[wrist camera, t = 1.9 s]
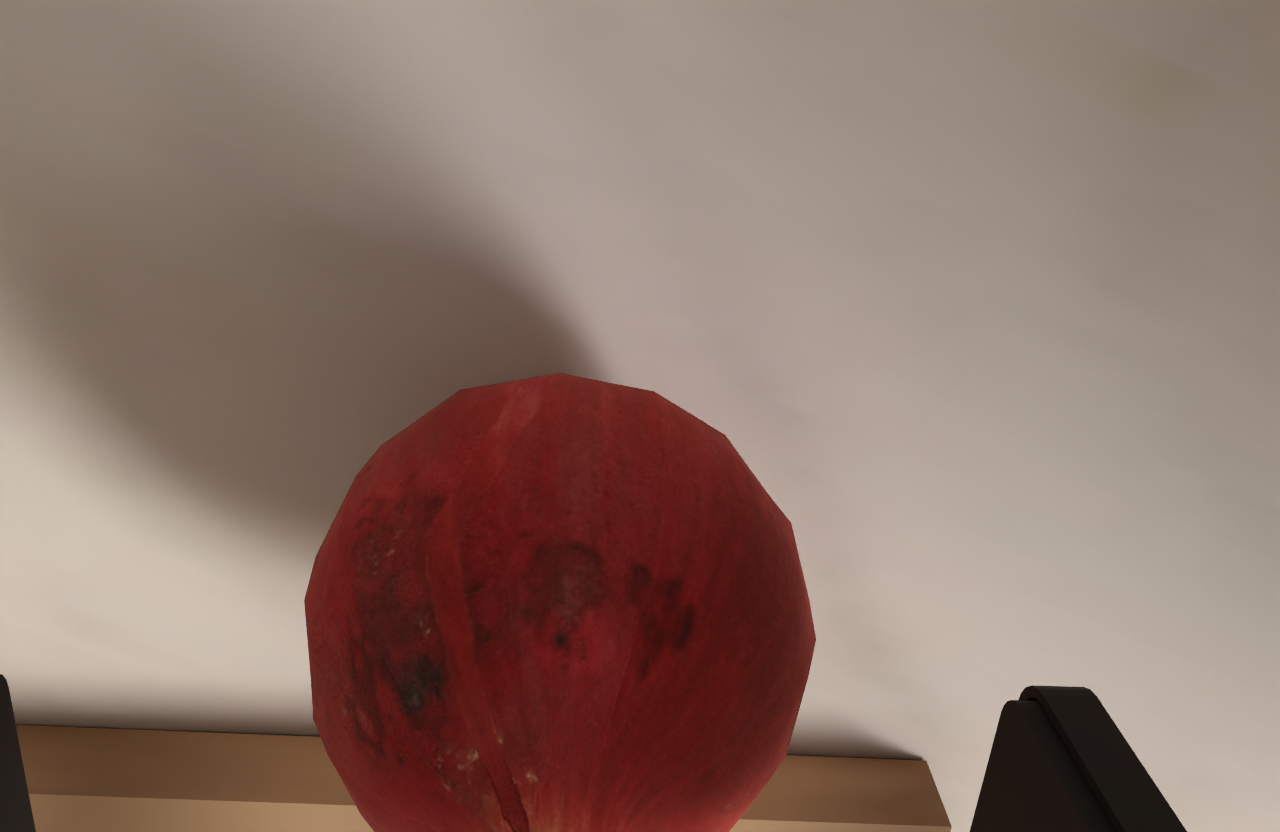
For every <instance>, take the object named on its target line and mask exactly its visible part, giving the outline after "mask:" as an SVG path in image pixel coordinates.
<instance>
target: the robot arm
mask: <svg viewBox="0 0 1280 832" xmlns="http://www.w3.org/2000/svg"><path fill="white" fill-rule="evenodd" d="M0 832H36V830H35V824H34V819H33V814H32V809H31V803H30V798H29V793H28V787H27V782H26V777H25V772H24V766H23V761H22V756H21V750H20V745H19V740H18V735H17V729H16V724H15V719H14V713H13V708H12V703H11V698H10V692H9V687H8V684H7V681H6V679H5V678H4V676H3V675H1V674H0ZM970 832H1187V831H1186V830H1185V828H1184V827H1183V825H1182V824H1181V822H1180V821H1179V819H1178V818H1177V816H1176V815H1175V813H1174V812H1173V810H1172V809H1171V807H1170V806H1169V804H1168V803H1167V801H1166V800H1165V798H1164V797H1163V795H1162V794H1161V792H1160V791H1159V789H1158V788H1157V786H1156V785H1155V783H1154V782H1153V780H1152V779H1151V777H1150V776H1149V774H1148V773H1147V771H1146V770H1145V768H1144V767H1143V765H1142V764H1141V762H1140V761H1139V759H1138V758H1137V756H1136V755H1135V753H1134V752H1133V750H1132V749H1131V747H1130V746H1129V744H1128V743H1127V741H1126V740H1125V738H1124V737H1123V735H1122V734H1121V732H1120V731H1119V729H1118V728H1117V726H1116V725H1115V723H1114V722H1113V720H1112V719H1111V717H1110V716H1109V714H1108V713H1107V711H1106V710H1105V708H1104V707H1103V705H1102V704H1101V702H1100V701H1099V699H1098V698H1097V696H1096V695H1095V694H1094V693H1093V692H1092V691H1091V690H1090V689H1087V688H1085V687H1060V686H1029V687H1026V688H1025V689H1024V690H1023V692H1022V693H1021V695H1020V698H1019V700H1011V701H1007V703H1006V704H1005V705H1004V707H1003V709H1002V712H1001V715H1000V719H999V723H998V727H997V731H996V734H995V738H994V742H993V746H992V750H991V753H990V757H989V761H988V765H987V769H986V772H985V776H984V780H983V784H982V787H981V791H980V795H979V799H978V803H977V806H976V810H975V814H974V818H973V822H972V825H971V829H970Z"/></svg>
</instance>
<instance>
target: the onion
mask: <svg viewBox="0 0 1280 832" xmlns="http://www.w3.org/2000/svg"><path fill="white" fill-rule="evenodd" d="M304 602H305V614H306V626H307V637H308V649H309V661H310V673H311V687H312V704H313V719H314V721H315V724H316V726H317V729H318V732H319V734H320V737H321V739H322V742H323V745H324V747H325V750H326V752H327V754H328V756H329V758H330V760H331V762H332V763H333V765H334V767H335V769H336V771H337V772H338V774H339V776H340V778H341V780H342V781H343V783H344V785H345V787H346V789H347V790H348V792H349V794H350V796H351V798H352V800H353V801H354V803H355V805H356V807H357V809H358V810H359V812H360V814H361V816H362V817H363V818H364V819H365V821H366V822H367V823H368V824H369V826H370V827H371V828H372V829H373V831H374V832H729V831H730V830H731V829H732V827H733V826H734V825H735V824H736V822H737V821H738V820H739V818H740V817H741V816H742V815H743V813H744V812H745V811H746V810H747V808H748V807H749V806H750V804H751V803H752V802H753V801H754V799H755V798H756V797H757V795H758V794H759V793H760V792H761V790H762V789H763V788H764V786H765V785H766V784H767V783H768V781H769V780H770V778H771V777H772V775H773V774H774V773H775V771H776V770H777V768H778V767H779V765H780V764H781V763H782V761H783V760H784V758H785V757H786V754H787V750H788V747H789V743H790V740H791V736H792V733H793V729H794V725H795V722H796V718H797V715H798V711H799V708H800V704H801V700H802V697H803V693H804V690H805V686H806V683H807V679H808V675H809V670H810V666H811V661H812V656H813V651H814V646H815V641H816V637H815V631H814V625H813V619H812V613H811V608H810V602H809V597H808V593H807V589H806V585H805V580H804V576H803V572H802V568H801V563H800V559H799V555H798V551H797V546H796V542H795V538H794V534H793V529H792V525H791V522H790V521H789V520H788V519H787V517H786V516H785V515H784V514H783V512H782V511H781V510H780V509H779V507H778V506H777V505H776V504H775V502H774V501H773V500H772V499H771V497H770V496H769V495H768V493H767V492H766V491H765V489H764V488H763V487H762V485H761V484H760V482H759V481H758V480H757V478H756V477H755V476H754V474H753V473H752V471H751V470H750V469H749V467H748V466H747V465H746V463H745V462H744V460H743V459H742V458H741V456H740V455H739V454H738V452H737V451H736V449H735V448H734V447H733V445H732V444H731V443H730V441H729V440H728V439H727V437H726V436H725V435H724V434H722V433H721V432H719V431H718V430H716V429H714V428H713V427H711V426H709V425H708V424H706V423H704V422H703V421H701V420H700V419H698V418H696V417H695V416H693V415H691V414H690V413H688V412H687V411H685V410H683V409H682V408H680V407H678V406H677V405H675V404H673V403H672V402H670V401H669V400H667V399H665V398H664V397H662V396H660V395H659V394H657V393H655V392H654V391H648V390H643V389H638V388H633V387H628V386H623V385H617V384H612V383H607V382H602V381H597V380H592V379H586V378H581V377H576V376H571V375H566V374H561V373H559V374H553V375H547V376H541V377H535V378H529V379H523V380H517V381H511V382H505V383H499V384H493V385H487V386H481V387H475V388H469V389H463V390H459V391H458V392H456V393H455V394H454V395H452V396H451V397H449V398H448V399H447V400H445V401H444V402H442V403H441V404H439V405H438V406H437V407H435V408H434V409H432V410H431V411H429V412H428V413H427V414H425V415H424V416H422V417H421V418H420V419H418V420H417V421H415V422H414V423H412V424H411V425H410V426H408V427H407V428H405V429H404V430H402V431H401V432H400V433H398V434H397V435H395V436H394V437H393V438H391V439H390V440H388V441H387V442H385V443H384V444H383V445H381V446H380V448H379V449H378V450H377V451H376V453H375V454H374V455H373V456H372V457H371V459H370V460H369V461H368V462H367V464H366V465H365V466H364V467H363V468H362V470H361V471H360V472H359V473H358V474H357V476H356V477H355V479H354V481H353V483H352V485H351V487H350V489H349V491H348V493H347V495H346V497H345V499H344V501H343V503H342V505H341V507H340V509H339V511H338V513H337V515H336V517H335V519H334V521H333V523H332V525H331V527H330V529H329V531H328V533H327V535H326V537H325V539H324V541H323V543H322V545H321V547H320V549H319V551H318V553H317V555H316V558H315V562H314V566H313V569H312V573H311V577H310V581H309V585H308V588H307V592H306V596H305V600H304Z"/></svg>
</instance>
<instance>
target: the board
mask: <svg viewBox="0 0 1280 832" xmlns="http://www.w3.org/2000/svg"><path fill="white" fill-rule="evenodd" d="M16 729H17V735H18V740H19V745H20V750H21V756H22V761H23V766H24V772H25V777H26V782H27V787H28V793H29V798H30V803H31V809H32V814H33V819H34V824H35V830H36V832H374V831H373V829H372V828H371V827H370V826H369V824H368V823H367V822H366V821H365V819H364V818H363V817H362V816H361V814H360V812H359V810H358V809H357V807H356V805H355V803H354V801H353V800H352V798H351V796H350V794H349V792H348V790H347V789H346V787H345V785H344V783H343V781H342V780H341V778H340V776H339V774H338V772H337V771H336V769H335V767H334V765H333V763H332V762H331V760H330V758H329V756H328V754H327V752H326V750H325V747H324V745H323V742H322V739H321V737H312V736H286V735H261V734H236V733H210V732H185V731H159V730H134V729H109V728H83V727H58V726H33V725H16ZM950 831H951V824H950V822H949V819H948V816H947V814H946V811H945V808H944V806H943V803H942V801H941V798H940V795H939V793H938V790H937V788H936V785H935V782H934V780H933V777H932V774H931V772H930V769H929V767H928V764H927V761H920V760H895V759H869V758H844V757H819V756H793V755H786V757H785V758H784V760H783V761H782V763H781V764H780V765H779V767H778V768H777V770H776V771H775V773H774V774H773V775H772V777H771V778H770V780H769V781H768V783H767V784H766V785H765V786H764V788H763V789H762V790H761V792H760V793H759V794H758V795H757V797H756V798H755V799H754V801H753V802H752V803H751V804H750V806H749V807H748V808H747V810H746V811H745V812H744V813H743V815H742V816H741V817H740V818H739V820H738V821H737V822H736V824H735V825H734V826H733V827H732V829H731V830H730V831H729V832H950Z"/></svg>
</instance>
